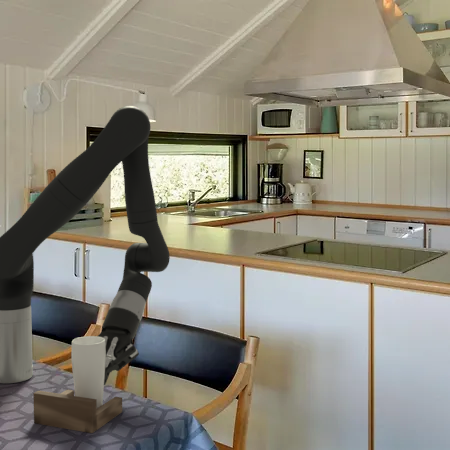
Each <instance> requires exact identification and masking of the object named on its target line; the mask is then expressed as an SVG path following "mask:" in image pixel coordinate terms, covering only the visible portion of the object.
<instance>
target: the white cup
mask: <svg viewBox="0 0 450 450" xmlns="http://www.w3.org/2000/svg"><path fill="white" fill-rule="evenodd" d="M70 355H71V367H72V369H71V370H72V378H73V386H74V387H73V389H74V396H78V397H85V398H91V399H97V408H99V407H100V406H102V405H103V404H104V403H103V400H104V388H105V385H104V376H105V363H106V345H105V339H104V338H102V337H98V335H97V336H96V335H88V336H87V335H86V336H81V337H75V338H74V339H72V341H71V354H70Z"/></svg>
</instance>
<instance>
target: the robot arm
mask: <svg viewBox="0 0 450 450" xmlns="http://www.w3.org/2000/svg"><path fill="white" fill-rule="evenodd" d="M150 133H151V122H150V118H149V116H148V115H147V112H145V111H144V110H143V109H142V108H139V107H138V106H135V105H126V106H123V107H121V108H119V109H117V110H116V111H114V113H113V114H112V116H111V117H110V118H109V121H108V122H107V123H106V124H105V126H104V128H103V129H102V130H101V131H100V133H99V134H98V135H97V137H96V138H95V140H93V142H92V143H91V144H90V145H89V146H88V147H87V148H86V149H85V150H84V151H83V152H81V153H80V154H79V155H78V156H76V157H75V158H74V159H73V160H71V162H69V163H68V164H67V165H66V166H65V167H64V168H63V169H62V170H60V171H59V172H58V173H57V175H55V176H54V178H53V179H52V180H51V181H50V182H49V183H48V185H47V186H46V187H45V188H44V189H43V191H41V193H39V195H38V196H37V197H36V198H35V200H33V202H32V203H31V205H29V207H28V208H27V209H26V211H25V212H24V213H23V214H22V215H21V217H19V219H18V220H17V221H16V222H15V223H14V224H13V225H12V226H11V227H10V228H9V229H7V230H6V231H5V232H4V233H3V234H2V235H1V236H0V384H13V383H14V384H15V383H22V382H25V381H27V380H29V379H31V378H32V377H33V368H34V365H33V335H32V334H33V333H32V331H33V330H32V326H33V325H32V324H33V323H32V296H33V292H34V269H35V267H34V264H35V263H34V253H35V251H36V250H37V248H38V247H39V246H41V244H42V243H43V242H44V241H45V240H46V239H48V238H49V237H50V236H52V235H53V234H54V233H56V232H57V231H58V230H60V229H61V228H63V227H65V225H66V224H67V223H69V222H70V221H71V220H72V219H73V218H74V217H75V216H77V214H79V213H80V212H81V211H82V209H83V208H84V207H85V206H86V205H87V204H88V203H89V201H91V199H92V198H93V197H94V196H95V194H96V193H97V192H98V191H99V189H100V188H101V187H102V185H103V184H104V183H105V181H106V180H107V179H108V177H109V176H110V175H111V173H112V171H113V170H114V169H115V168H116V167H117V166H118V165H119V164H122V172H123V181H124V185H123V186H124V201H125V203H124V204H125V209H126V217H127V224H128V225H127V227H128V229H129V232H130V234H132V235H134V236H138V237H141V238H143V239H144V241H145V242H134V243H132V244H131V245H130V246H129V247H128V248H127V249H126V251H125V256H124V266H123V273H122V280H121V282H120V284H119V287H118V290H117V291H116V295H115V296H114V297H113V299H112V302H111V304H110V306H109V308H108V311H107V313H106V315H105V318H104V320H103V322H102V326H101V330H100V331H101V332H100V333H99V334H98V335H97V336H98V337H102V338H104V339H105V345H106V363H105V376H104V386H105V385H106V384H107V381H108V379H109V376H110V374H111V373H112V372H113V371H116V372H119V371H121V370H122V369H124V367H126V366H127V365H128V364H129V363H131V362H132V361H133V360H134V359H135V358H136V357H138V356H139V355H140V353H139V351H138V349H137V348H136V347H135V346H134V340H133V339H134V338H135V336H136V334H137V331H138V329H139V326H140V323H141V320H142V319H143V315H144V313H145V307H146V304H147V301H148V298H149V296H150V293H151V291H152V287H153V282H152V280H151V279H150V277H149V276H147V275H146V274H144V273H145V272H147V273H161V272H164V271H165V270H166V269H167V268H168V266H169V264H170V259H171V258H170V252H169V248H168V246H167V242H166V241H165V238H164V236H163V233H162V230H161V228H160V225H159V221H158V213H157V206H156V198H155V193H154V187H153V183H152V182H153V181H152V177H151V170H150V164H149V163H150V161H149V136H150Z"/></svg>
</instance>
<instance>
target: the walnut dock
mask: <svg viewBox="0 0 450 450" xmlns="http://www.w3.org/2000/svg"><path fill="white" fill-rule="evenodd" d="M32 395H33V398H32V399H33V423H34V424H38V425H42V426H49V427H54V428H60V429H64V430H65V429H67V430H70V431H76V432H83V433H87V434H88V433H89V434H93V433H95V432H97V431H98V430H99V429H101V428H102V427H103V426H105V425H106V424H108V422H110V421H112V420H113V419H114V418H116V417H118V416H119V415H120V414H121V413H123V397H120V396H114V397H112V398H111V399H109V400H108V401H106V402H105V403H103V405H102V406H100V407H99V408H97V399H91V398H85V397H78V396H75V389H74V390H72V389H66V390H64V391H62V392H60V393H58V392H57V393H56V392H51V391H45V390H44V391H43V390H37V391H35V392H33V394H32Z"/></svg>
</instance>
